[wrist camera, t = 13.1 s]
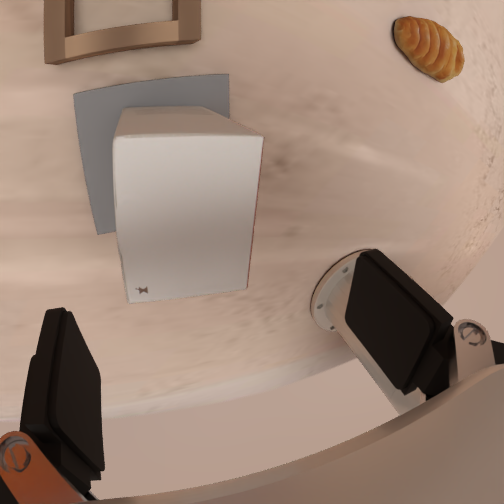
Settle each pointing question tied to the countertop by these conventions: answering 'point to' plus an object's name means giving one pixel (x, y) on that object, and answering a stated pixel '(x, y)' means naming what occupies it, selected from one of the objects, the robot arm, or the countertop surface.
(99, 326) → the countertop surface
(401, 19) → the pastry
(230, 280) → the small box
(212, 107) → the mat
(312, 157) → the countertop surface
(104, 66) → the countertop surface
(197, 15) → the holder
